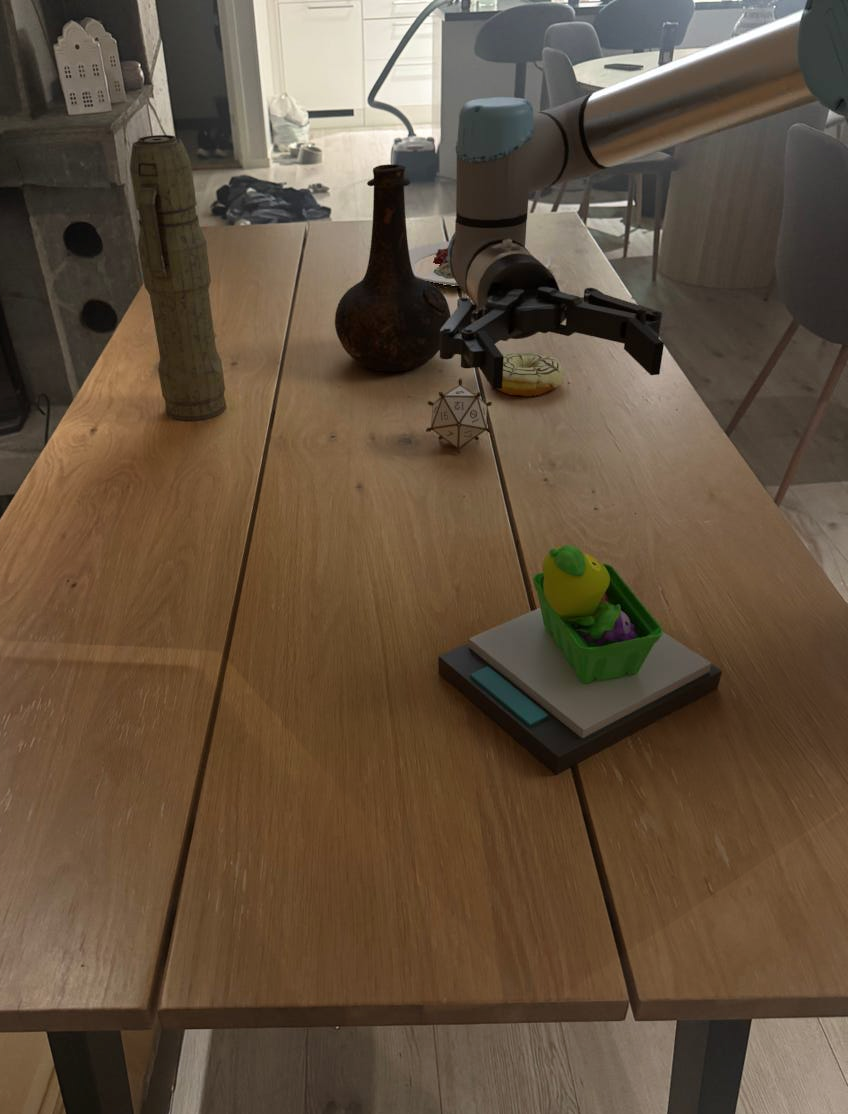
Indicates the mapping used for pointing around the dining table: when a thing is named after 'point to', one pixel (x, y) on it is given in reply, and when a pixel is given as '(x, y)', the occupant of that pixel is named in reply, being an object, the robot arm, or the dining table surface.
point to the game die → (459, 416)
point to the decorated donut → (530, 374)
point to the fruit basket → (593, 616)
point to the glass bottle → (391, 291)
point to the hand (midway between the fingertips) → (578, 366)
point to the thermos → (177, 278)
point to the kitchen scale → (569, 690)
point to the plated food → (443, 271)
